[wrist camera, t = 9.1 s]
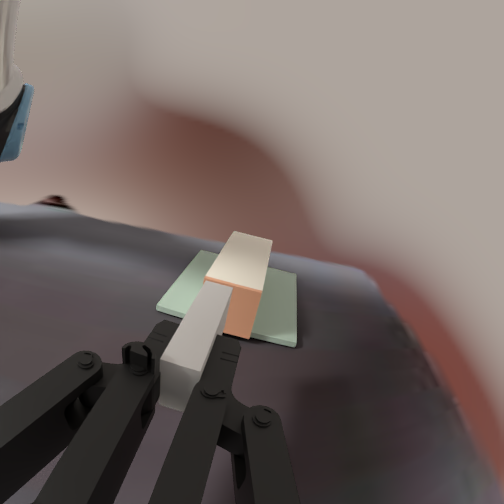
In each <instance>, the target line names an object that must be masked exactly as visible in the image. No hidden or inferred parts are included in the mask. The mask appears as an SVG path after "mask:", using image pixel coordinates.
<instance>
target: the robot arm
mask: <svg viewBox="0 0 504 504" xmlns="http://www.w3.org/2000/svg"><path fill="white" fill-rule="evenodd" d="M19 5H20V0H0V162H3V161H12V160H15V159H16V158H17V157H18V156H19V154H20V152H21V149H22V145H23V140H24V136H25V131H26V126H27V121H28V116H29V112H30V107H31V102H32V98H33V94H34V87H33V86H32V85H29V84H26V83H25V84H24V85H23V75H22V72H21V70H20V69H19V68H18V67H17V66H16V65H14V64H13V62H14V61H13V60H14V45H15V35H16V26H17V18H18V12H19ZM232 290H233V287H229V286H225V285H221V284H218V283H214V282H210V281H205V283H204V284H203V286H202V288H201V289H200V291H199V293H198V294H197V296H196V298H195V300H194V301H193V303H192V305H191V306H190V308H189V310H188V311H187V313H186V315H185V317H184V318H183V320H182V322H181V323H180V324H177V323H174V322H170V321H167V320H163V321H162V322H160V323H158V324H156V326H155V327H154V329H153V330H152V332H151V333H150V335H149V336H148V338H147V339H146V340H145V342H144V343H143V342H130V343H127V344H125V345H124V346H123V347H122V358H123V364H110V363H103V362H102V361H101V358H100V357H99V356H98V355H97V354H96V353H94V352H91V351H80V352H77V353H75V354H74V355H72V356H71V357H69V358H68V359H66V360H65V361H64V362H62V363H61V364H59V365H58V366H56V367H55V368H54V369H52V370H51V371H49V372H48V373H46V374H45V375H44V376H42V377H41V378H39V379H38V380H36V381H35V382H34V383H32V384H31V385H29V386H28V387H27V388H25V389H24V390H22V391H21V392H20V393H18V394H17V395H15V396H14V397H13V398H11V399H10V400H8V401H7V402H6V403H4V404H3V405H1V406H0V504H3V503H4V502H5V501H6V500H7V499H9V498H10V497H11V496H12V495H13V494H14V493H15V492H17V491H18V490H19V489H20V488H21V487H22V486H23V485H25V484H26V483H27V482H28V481H29V480H30V479H31V478H32V477H34V476H35V475H36V474H37V473H38V472H39V471H40V470H41V469H43V468H44V467H45V466H46V465H47V464H48V463H49V462H50V461H51V460H53V459H54V458H55V457H56V456H57V455H58V454H59V453H60V452H61V451H63V450H64V449H65V448H66V447H67V446H68V447H67V449H66V450H65V452H64V453H63V455H62V457H61V458H60V460H59V461H58V463H57V465H56V466H55V468H54V470H53V471H52V473H51V475H50V476H49V478H48V480H47V481H46V483H45V485H44V486H43V488H42V490H41V491H40V493H39V495H38V497H37V498H36V500H35V501H34V502H33V503H32V504H113V503H114V501H115V498H116V496H117V494H118V492H119V489H120V487H121V485H122V483H123V481H124V478H125V476H126V474H127V472H128V470H129V467H130V465H131V463H132V461H133V459H134V457H135V454H136V452H137V450H138V448H139V446H140V444H141V441H142V439H143V437H144V435H145V433H146V431H147V429H148V426H149V424H150V422H151V420H152V418H153V416H154V413H155V404H156V402H157V400H158V398H159V404H160V405H163V406H165V407H168V408H171V409H175V410H178V411H181V412H184V413H183V416H182V418H181V421H180V423H179V426H178V428H177V431H176V433H175V436H174V439H173V441H172V444H171V446H170V449H169V451H168V454H167V457H166V459H165V462H164V464H163V467H162V469H161V472H160V475H159V477H158V480H157V482H156V485H155V487H154V490H153V493H152V495H151V498H150V500H149V503H148V504H201V500H202V497H203V493H204V489H205V486H206V482H207V478H208V475H209V471H210V467H211V463H212V460H213V456H214V452H215V448H216V445H218V446H220V447H222V448H223V449H225V450H227V451H229V452H231V461H232V471H233V482H234V491H235V501H236V504H300V500H299V496H298V492H297V487H296V483H295V479H294V475H293V471H292V466H291V462H290V458H289V453H288V449H287V445H286V441H285V436H284V432H283V428H282V423H281V419H280V417H279V415H278V414H277V413H276V412H275V411H274V410H273V409H271V408H269V407H267V406H261V405H258V406H253V407H251V408H249V407H247V406H245V405H243V404H241V403H240V402H238V401H237V400H236V399H235V398H234V396H233V394H232V391H231V386H232V382H233V378H234V374H235V370H236V366H237V362H238V358H239V354H240V350H241V346H240V344H239V341H238V340H236V339H233V338H229V337H225V336H222V333H223V330H224V327H225V323H226V318H227V313H228V309H229V304H230V300H231V295H232Z"/></svg>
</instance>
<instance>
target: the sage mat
mask: <svg viewBox="0 0 504 504" xmlns="http://www.w3.org/2000/svg"><path fill="white" fill-rule="evenodd" d="M218 255H219V254H215V253H212V252H208V251H204V250H200V252H199V253H198V254H197V255H196V256H195V258H194V259H193V260H192V261H191V263H190V264H189V265H188V266H187V268H186V269H185V270H184V271H183V272H182V274H181V275H180V276H179V277H178V279H177V280H176V281H175V282H174V284H173V285H172V286H171V287H170V289H169V290H168V291H167V292H166V294H165V295H164V296H163V298H162V299H161V300H160V301H159V303H158V304H157V307H156V310H158V311H161V312H164V313H167V314H170V315H174V316H177V317H180V318H184V317H185V315H186V313H187V311H188V310H189V308H190V306H191V305H192V303H193V301H194V300H195V298H196V296H197V294H198V293H199V291H200V289H201V288H202V286H203V281H204V277H205V275H206V274H207V272H208V271H209V269H210V268H211V266H212V264H213V263H214V261H215V260H216V258H217V257H218ZM250 337H252V338H256V339H260V340H264V341H268V342H273V343H277V344H281V345H286V346H290V347H295V346H296V343H297V288H296V274H294V273H290V272H286V271H282V270H278V269H274V268H270V267H267V271H266V276H265V281H264V286H263V291H262V295H261V298H260V302H259V306H258V309H257V313H256V317H255V320H254V324H253V327H252V331H251V335H250Z"/></svg>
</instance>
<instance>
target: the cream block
mask: <svg viewBox="0 0 504 504" xmlns="http://www.w3.org/2000/svg"><path fill="white" fill-rule="evenodd" d="M271 246H272V240H268V239H264V238H260V237H256V236H252V235H248V234H244V233H240V232H236V231H234V232H233V233H232V235H231V236H230V238H229V240H228V241H227V243H226V244H225V246H224V247H223V249H222V250H221V252H220V253H219V255H218V257H217V258H216V260H215V261H214V263H213V264H212V266H211V268H210V269H209V271H208V272H207V274H206V275H205V277H204V281H203V284H204V283H205V281H210V282H214V283H218V284H221V285H225V286H229V287H233V290H232V295H231V300H230V304H229V309H228V313H227V318H226V323H225V327H224V330H223V332H224V333H227V334H231V335H235V336H239V337H243V338H246V339H249V338H250V335H251V331H252V327H253V324H254V320H255V317H256V313H257V309H258V306H259V302H260V298H261V295H262V291H263V286H264V281H265V276H266V271H267V266H268V261H269V256H270V251H271Z"/></svg>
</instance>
